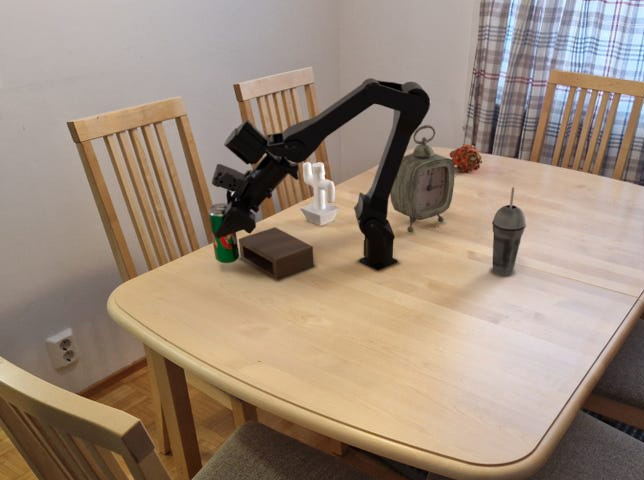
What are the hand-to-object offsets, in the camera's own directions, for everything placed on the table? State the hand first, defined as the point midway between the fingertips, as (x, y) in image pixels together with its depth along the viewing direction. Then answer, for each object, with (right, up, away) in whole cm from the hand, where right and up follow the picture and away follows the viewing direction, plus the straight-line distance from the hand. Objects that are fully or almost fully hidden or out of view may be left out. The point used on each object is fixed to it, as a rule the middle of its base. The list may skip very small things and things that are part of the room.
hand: (216, 231), depth 137 cm
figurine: (+19, +8, +29) cm, 35 cm away
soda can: (+1, -5, +4) cm, 7 cm away
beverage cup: (+62, -7, +9) cm, 64 cm away
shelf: (+11, -5, +9) cm, 15 cm away
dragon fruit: (+59, +32, +66) cm, 94 cm away
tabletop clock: (+44, +8, +30) cm, 54 cm away
